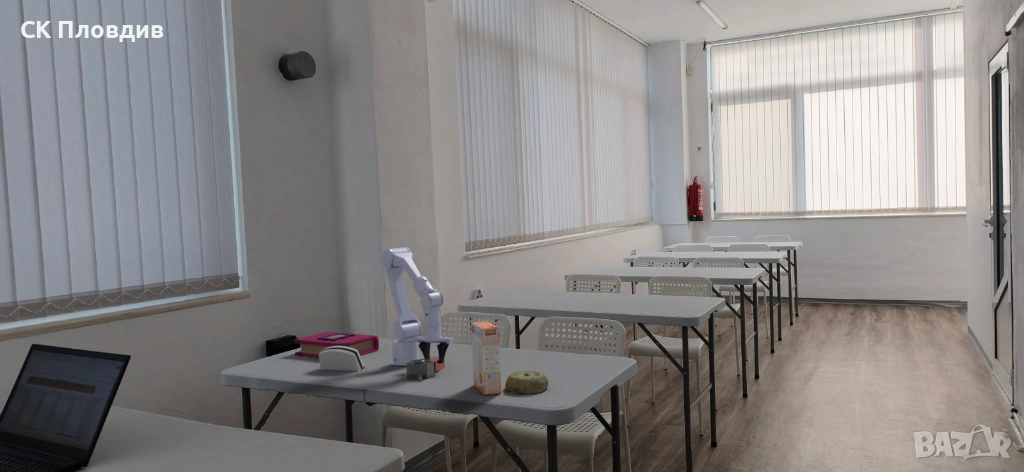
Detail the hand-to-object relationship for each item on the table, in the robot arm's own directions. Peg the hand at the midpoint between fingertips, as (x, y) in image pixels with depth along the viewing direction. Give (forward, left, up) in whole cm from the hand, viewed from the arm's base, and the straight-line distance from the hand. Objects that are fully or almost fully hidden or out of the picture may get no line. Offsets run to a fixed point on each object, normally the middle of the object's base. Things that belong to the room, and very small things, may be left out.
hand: (434, 362), depth 253 cm
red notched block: (0, 0, -3) cm, 3 cm away
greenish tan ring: (+42, -17, -3) cm, 45 cm away
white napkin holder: (-35, -7, -3) cm, 36 cm away
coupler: (0, -7, -2) cm, 7 cm away
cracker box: (+30, -21, -3) cm, 37 cm away
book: (-55, +17, -3) cm, 58 cm away
